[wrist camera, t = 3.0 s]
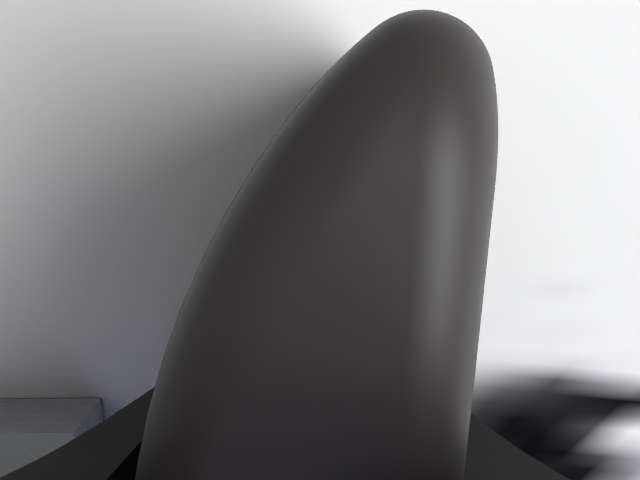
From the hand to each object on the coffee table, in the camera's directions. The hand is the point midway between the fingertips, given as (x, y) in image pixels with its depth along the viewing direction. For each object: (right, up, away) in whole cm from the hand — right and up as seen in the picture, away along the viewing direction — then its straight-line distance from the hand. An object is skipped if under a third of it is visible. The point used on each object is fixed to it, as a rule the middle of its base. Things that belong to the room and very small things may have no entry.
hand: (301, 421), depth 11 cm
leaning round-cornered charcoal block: (0, +1, +3) cm, 3 cm away
